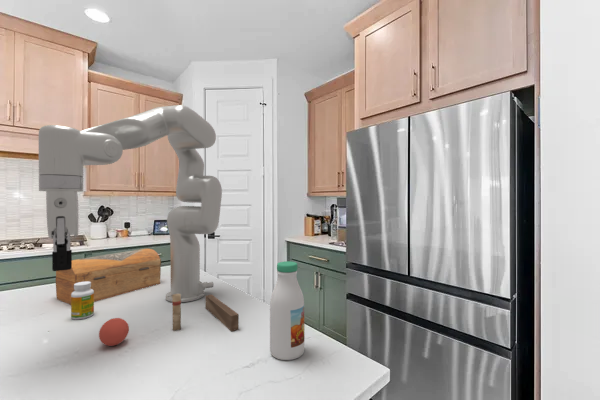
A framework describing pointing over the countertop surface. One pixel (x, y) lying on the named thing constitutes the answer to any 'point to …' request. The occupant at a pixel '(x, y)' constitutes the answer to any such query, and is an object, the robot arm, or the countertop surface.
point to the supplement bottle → (82, 301)
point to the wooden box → (111, 274)
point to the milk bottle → (287, 314)
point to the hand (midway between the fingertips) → (62, 269)
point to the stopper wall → (222, 312)
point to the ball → (113, 331)
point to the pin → (176, 311)
